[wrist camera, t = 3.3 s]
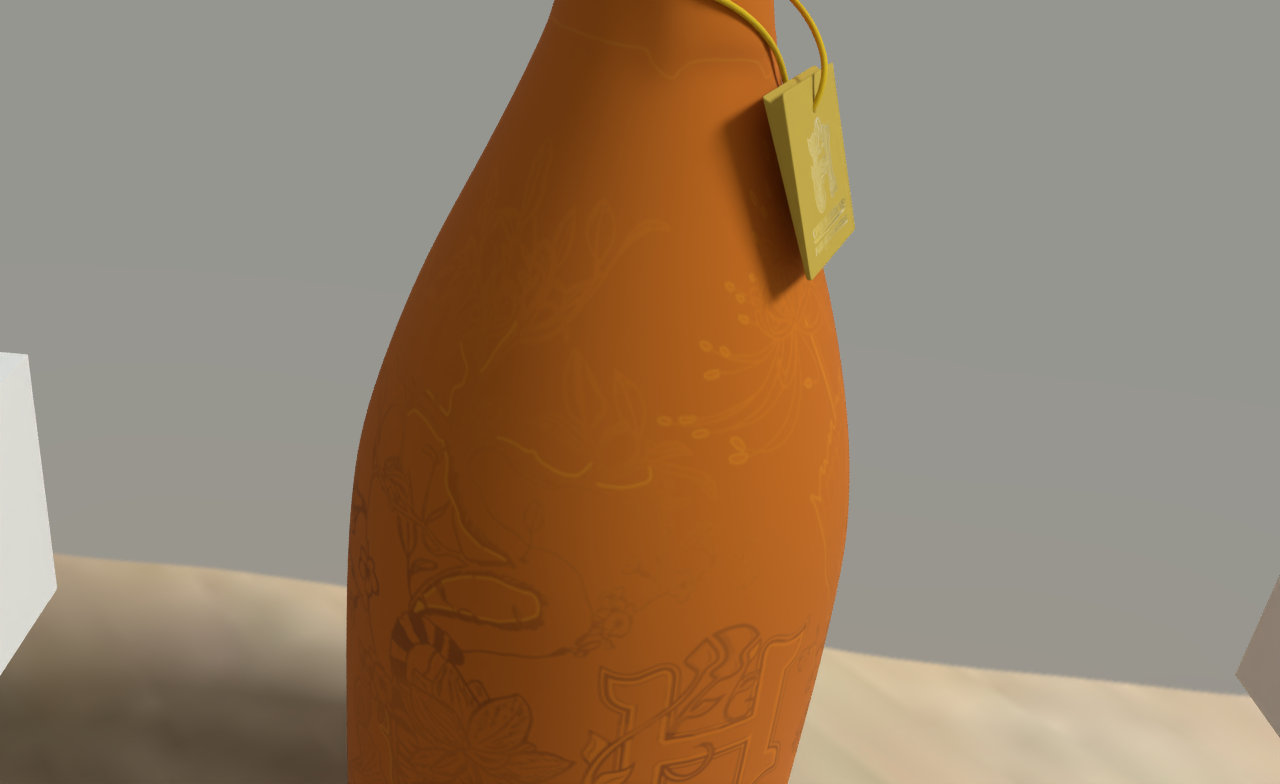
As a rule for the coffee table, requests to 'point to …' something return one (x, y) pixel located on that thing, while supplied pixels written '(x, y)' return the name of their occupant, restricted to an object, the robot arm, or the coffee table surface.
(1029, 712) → the coffee table surface
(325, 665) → the coffee table surface
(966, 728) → the coffee table surface
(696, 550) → the wine bottle
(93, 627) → the coffee table surface
